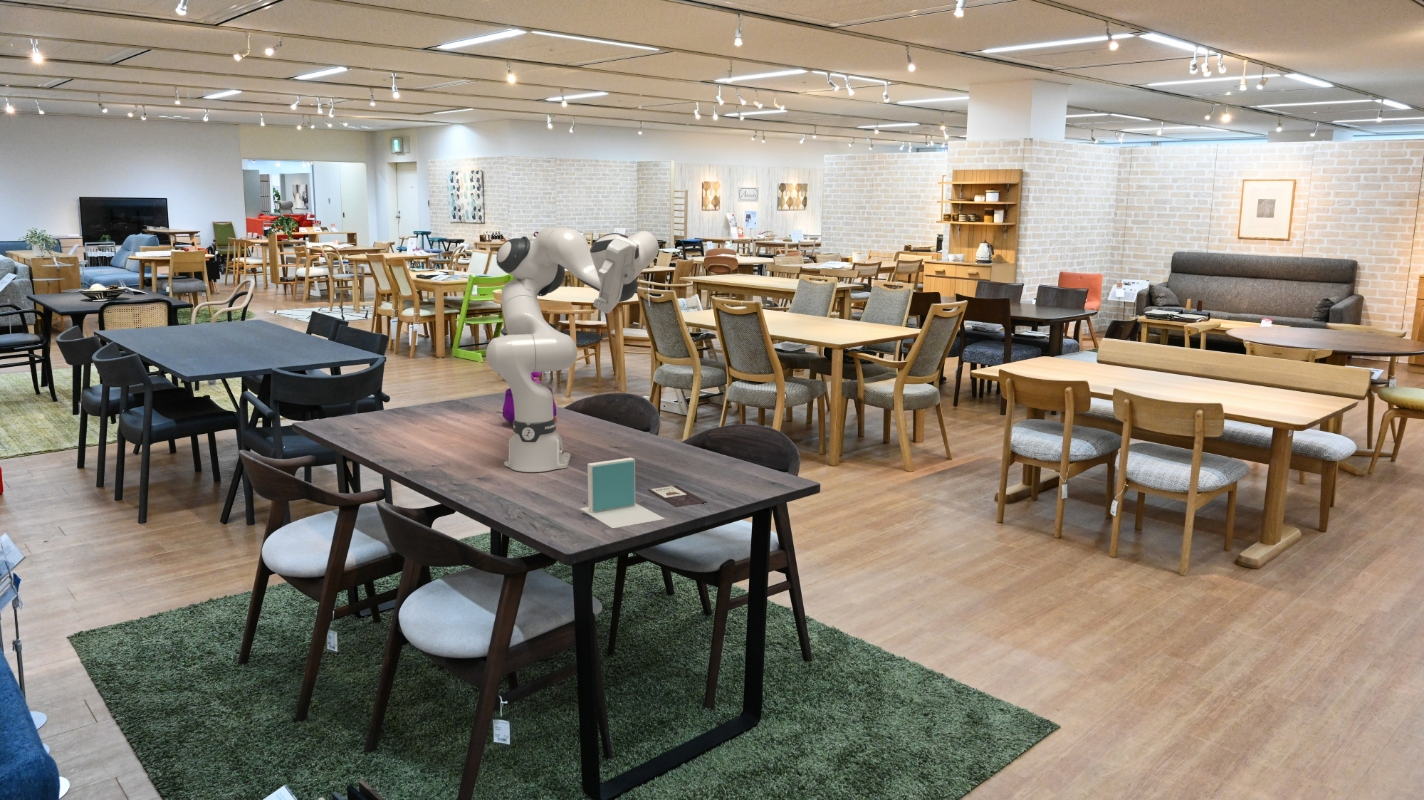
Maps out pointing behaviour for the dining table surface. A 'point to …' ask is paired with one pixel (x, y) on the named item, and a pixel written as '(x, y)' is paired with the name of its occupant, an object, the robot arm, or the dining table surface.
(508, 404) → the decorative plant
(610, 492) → the tile
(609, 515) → the mat
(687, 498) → the chocolate bar
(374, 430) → the dining table surface
